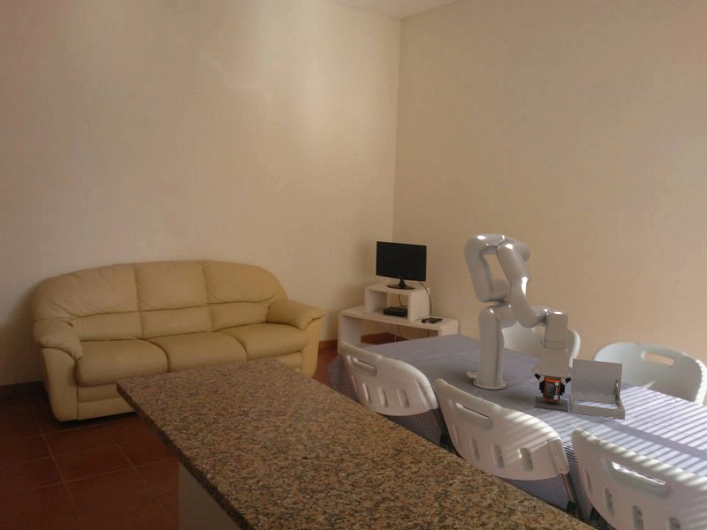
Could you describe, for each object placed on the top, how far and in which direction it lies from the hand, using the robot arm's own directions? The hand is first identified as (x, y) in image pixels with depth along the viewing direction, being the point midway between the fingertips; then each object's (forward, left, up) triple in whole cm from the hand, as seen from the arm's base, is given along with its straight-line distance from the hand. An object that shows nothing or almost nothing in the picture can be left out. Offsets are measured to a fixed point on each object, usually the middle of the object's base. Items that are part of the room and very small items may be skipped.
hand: (551, 392), depth 203 cm
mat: (0, 0, -4) cm, 4 cm away
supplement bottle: (0, 0, -3) cm, 3 cm away
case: (+15, +2, -4) cm, 16 cm away
